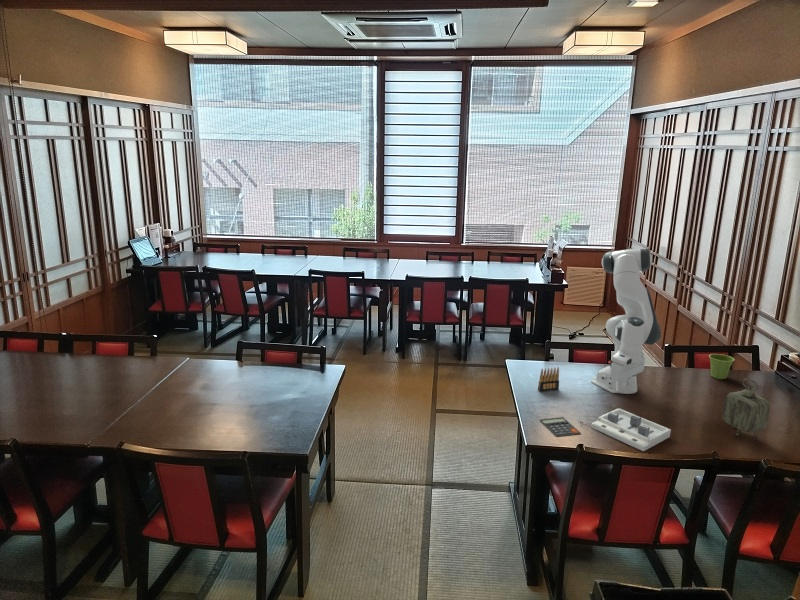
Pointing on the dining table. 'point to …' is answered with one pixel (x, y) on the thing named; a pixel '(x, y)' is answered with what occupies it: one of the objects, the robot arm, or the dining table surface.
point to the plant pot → (720, 365)
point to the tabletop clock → (746, 410)
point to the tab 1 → (613, 417)
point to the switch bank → (631, 430)
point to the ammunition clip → (549, 380)
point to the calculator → (559, 426)
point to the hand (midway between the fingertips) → (625, 385)
